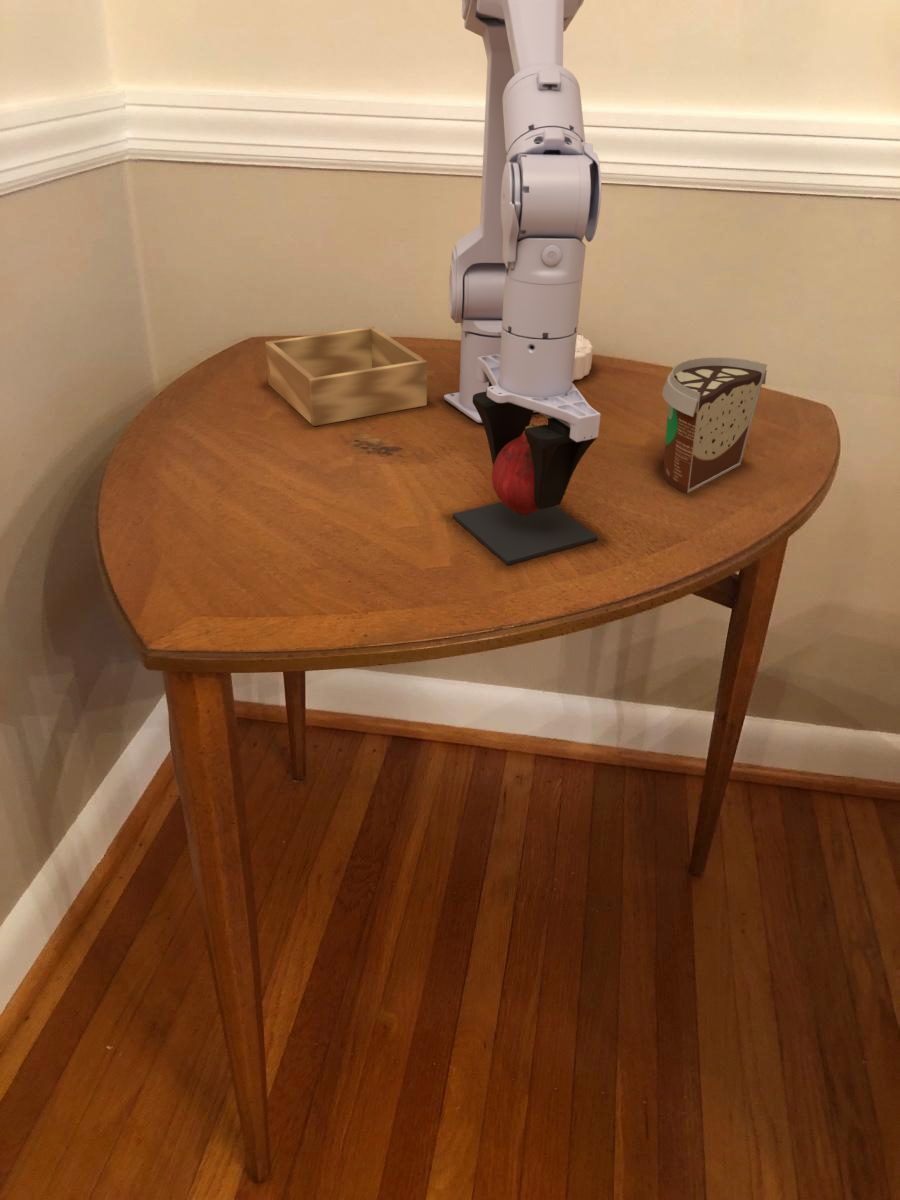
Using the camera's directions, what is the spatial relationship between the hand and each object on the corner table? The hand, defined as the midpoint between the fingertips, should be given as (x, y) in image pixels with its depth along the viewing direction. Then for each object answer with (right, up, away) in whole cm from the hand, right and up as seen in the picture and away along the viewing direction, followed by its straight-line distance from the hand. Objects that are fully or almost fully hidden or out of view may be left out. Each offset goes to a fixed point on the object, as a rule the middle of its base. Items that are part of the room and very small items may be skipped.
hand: (526, 489), depth 79 cm
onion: (0, -2, +1) cm, 3 cm away
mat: (0, -3, +2) cm, 4 cm away
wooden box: (-18, +14, +27) cm, 35 cm away
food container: (+17, +3, +13) cm, 22 cm away
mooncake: (+5, +19, +36) cm, 41 cm away
